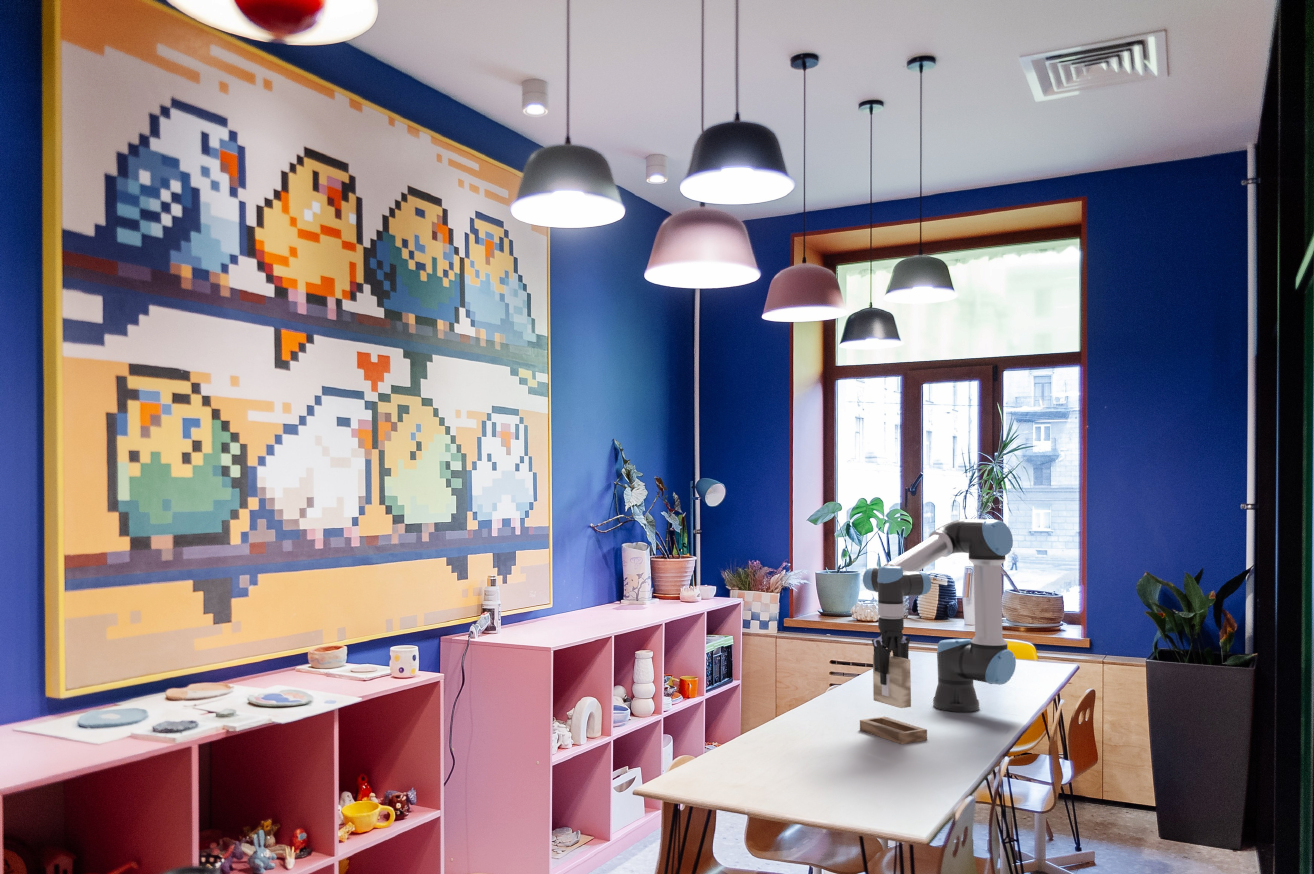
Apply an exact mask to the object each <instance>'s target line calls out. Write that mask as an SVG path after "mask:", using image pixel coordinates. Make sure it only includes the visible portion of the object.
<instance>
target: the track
mask: <svg viewBox="0 0 1314 874" xmlns="http://www.w3.org/2000/svg"><path fill="white" fill-rule="evenodd" d="M859 731H861V732H862V731H863V732H864V733H868V734H871V735H874V736H876V737H879V738H882V739H886V740H889V741H890V742H891V741H892V742H895V743H898V744H900V745H904V744H910V743H917V742H922V741H927V740H928V729H926V728H923V727H920V726H916V725H914V724H910V723H907V722H903V721H900V720H897V719H894V718H890V717H888V716H879V717H872V718H871V717H870V718H865V719H859Z"/></svg>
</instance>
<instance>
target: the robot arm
mask: <svg viewBox="0 0 1314 874" xmlns="http://www.w3.org/2000/svg"><path fill="white" fill-rule="evenodd" d="M1013 545H1014V540H1013V533H1012V532H1011V529H1010V528H1009V526H1008V525H1007V524H1006V523H1005V522H1004V521H1001V520H1000V519H992V518H988V519H987V518H984V519H983V518H982V519H981V518H977V519H976V518H970V519H969V518H961V519H960V518H959V519H956V520H953V521H951V522H948V523H946V524H944V525H941V526H940V527H938V528H936V529H935V530H933V531H932V532H931V533H929V536H928V537H927V539H925V540H922V541H921V542H920V543H918V544H916V545H915V546H913V547H911V548H910V549H908V550H906V551H905V552H903V553H902V554H900V555H898V556H897V557H895V558H893V559H892V560H890V561H888V562H887V563H885V564H883V566H880V567H872V568H867V569H866V570H865V571H864V573H863V575H862V584H863V586H864V588H865V589H866V590H868V591H870V592H875V593H877V597H878V598H877V607H878V608H877V609H878V610H877V611H878V613H877V615H878V616H879V617H878V619H877V620H878V621H877V623H878V625H877V627H878V630H879V633H878V634H879V635H878V637H877V638H873V639H872V640H871V643H872V646H873V654H874V669H875V671H876V672H878V673H880V683H881V684H882V695H884V696H888V697H889V696H890V674H887V673H888V666H889V658H890V655H891V652H892V656H896V657H901V658H906V659H909V653H910V651H909V646H910V641H911V638H910V637H908V636H905V635H904V634H903V631H904V627H905V626H904V625H905V624H904V621H905V620H904V618H903V617H904V597H915V596H918V597H920V596H924V595H926V594H928V593H929V592H930V591H931V589H932V579H931V577H930V575H929V574H928V573H927V572H925V571H922V570H923V569H925V568H926V567H927V566H929V565H930V564H933V563H934V562H935V561H937V560H938V559H941V558H946V557H949V556H951V555H952V554H953V555H954V554H956V553H957V554H959V553H964V554H965V553H966V554H968V560H969V561H970V562H971V564H973V591H974V592H973V594H974V595H973V599H974V603H973V604H974V636H973V637H972V638H953V639H951V638H950V639H944V640H940V641H939V642H938V643H937V647H936V648H937V650H936V658H937V662H936V663H937V686H936V689H935V693H934V697H933V699H932V705H933V707H934V708H936V709H938V710H943V711H949V712H956V713H966V712H967V713H969V712H977V711H979V710H980V701H979V699H978V697H977V693H976V689H975V685H974V681H975V682H981V683H987V684H989V685H999V686H1000V685H1001V686H1002V685H1005V684H1007V683H1008V682H1009V681H1010V680H1011V678H1012V677H1013V675H1014V673H1015V671H1016V668H1017V667H1016V664H1017V662H1016V660H1017V659H1016V657H1015V654H1014V652H1012V651H1011V650H1010V649H1008V642H1007V641H1006V640H1005V638H1003V637H1004V636H1003V614H1002V613H1003V611H1002V610H1003V607H1002V605H1003V604H1002V603H1003V602H1002V601H1003V599H1002V569H1001V566H1002V564H1003V563H1004V562H1005V561H1006V556H1007V555H1009V554H1010V552H1011V551H1012V548H1013ZM883 669H884V670H883Z"/></svg>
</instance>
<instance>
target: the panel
mask: <svg viewBox="0 0 1314 874" xmlns="http://www.w3.org/2000/svg"><path fill="white" fill-rule="evenodd" d="M872 670H873V671H872V677H873V678H872V679H873V680H872V682H873V684H872V686H873V687H872V688H873V690H872V693H873V701H875V702H879V703H882V704H885V705H888V706H891V707H895V708H899V709H905V708H911V707H912V695H911V694H912V693H911V692H912V691H911V690H912V689H911V686H912V684H911V682H912V681H911V678H912V677H911V676H912V675H911V659H910V658H908V659H906V658H901V657H896V656H893V654H890V658H889V666H888V673H887V674H890V696H889V697H888V696H884V695H882V684H881V683H880V673H878V672H876V671H875V669H874V653H873V654H872ZM883 670H884V669H883Z"/></svg>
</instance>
